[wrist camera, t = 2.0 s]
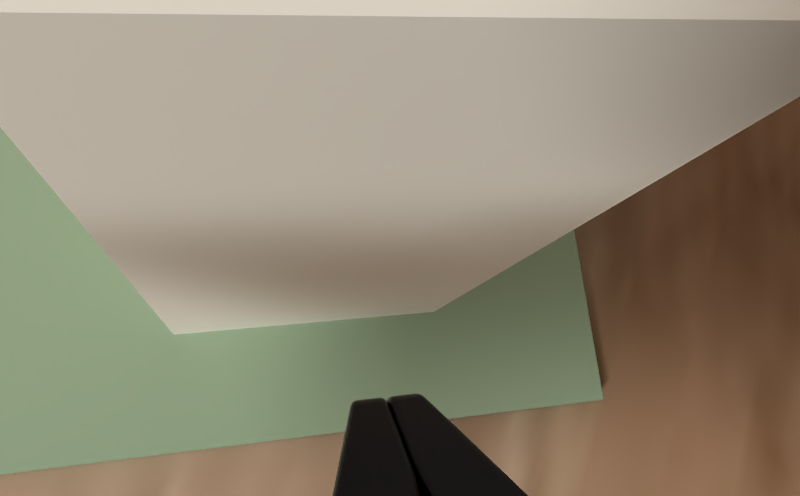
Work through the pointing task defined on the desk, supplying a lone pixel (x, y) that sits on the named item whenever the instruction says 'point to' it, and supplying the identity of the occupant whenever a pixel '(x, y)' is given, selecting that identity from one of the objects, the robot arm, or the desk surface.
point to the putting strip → (249, 351)
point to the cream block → (367, 135)
